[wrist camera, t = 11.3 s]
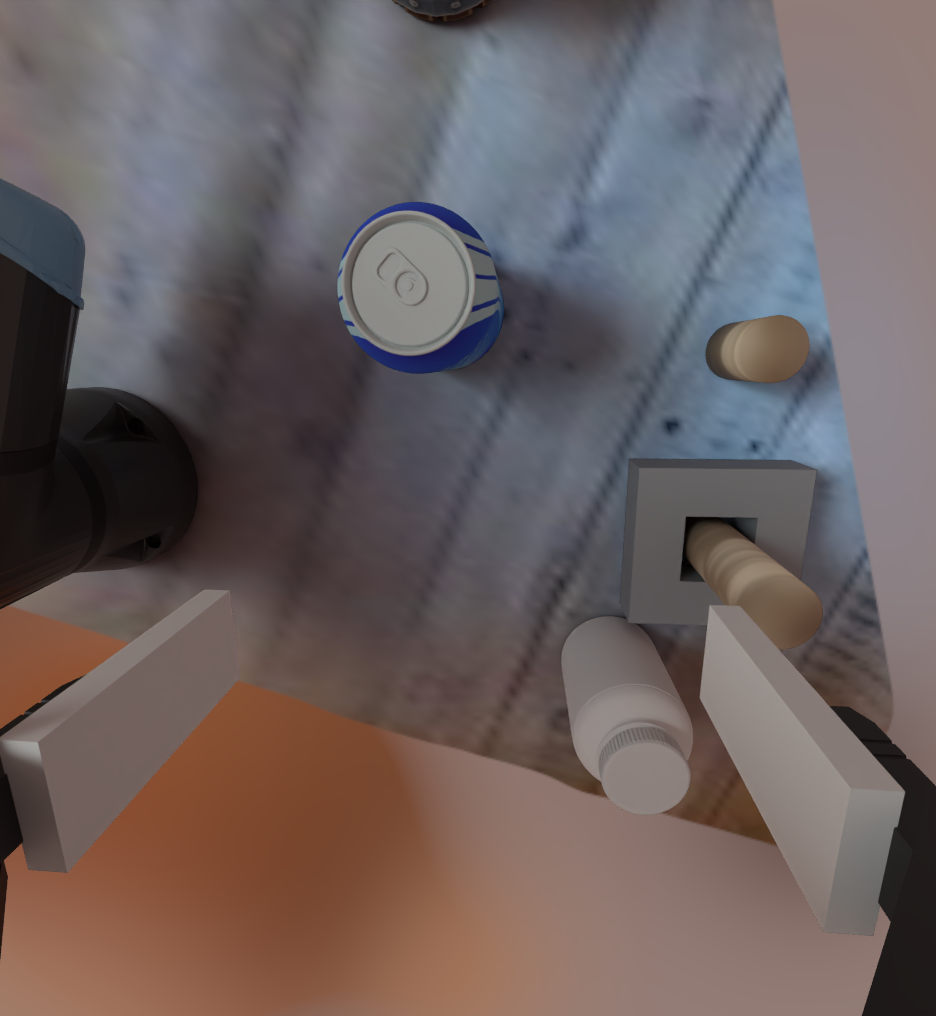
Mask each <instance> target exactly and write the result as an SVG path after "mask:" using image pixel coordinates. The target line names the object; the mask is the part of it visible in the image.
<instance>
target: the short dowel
mask: <svg viewBox="0 0 936 1016" xmlns="http://www.w3.org/2000/svg"><path fill="white" fill-rule="evenodd" d="M808 352H809V338H808V334H807V332H806V330H805V328H804V327H803V326H802V324H800V323H799V322H798V321H797V320H795V319H793V318H791V317H788V316H782V315H777V316H770V317H764V318H759V319H753V320H747V321H741V322H736V323H730V324H727V325H725V326H723V327H721V328H719V329H718V330H717V331H716V332H715V333H714V334H713V335H712V336H711V338H710V339H709V341H708V344H707V347H706V354H705V356H706V362H707V364H708V366H709V368H710V370H711V371H712V372H713V373H714V374H716V375H717V376H719V377H721V378H724V379H732V380H742V381H753V382H764V383H776V382H781V381H784V380H786V379H788V378H790V377H791V376H793V375H794V374H795V373H797V372H798V371H799V369H800V368H801V367H802V366H803V364H804V363H805V361H806V358H807V356H808Z"/></svg>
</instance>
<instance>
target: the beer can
mask: <svg viewBox="0 0 936 1016" xmlns="http://www.w3.org/2000/svg"><path fill="white" fill-rule="evenodd" d="M337 288H338V300H339V306H340V310H341V313H342V317H343V319H344V322H345V324H346V326H347V328H348V330H349V332H350V334H351V335H352V337H353V338H354V340H355V341H356V342H357V344H358V345H359V346H360V347H361V348H362V349H363V350H364V351H365V352H366V353H367V354H368V355H369V356H370V357H372V358H373V359H375V360H376V361H378V362H379V363H381V364H383V365H385V366H387V367H389V368H392V369H394V370H397V371H401V372H406V373H416V374H422V373H432V372H439V371H446V370H454V369H459V368H463V367H466V366H468V365H470V364H472V363H474V362H476V361H477V360H479V359H480V358H481V357H483V356H484V355H485V354H486V353H487V352H488V351H489V349H490V348H491V347H492V345H493V344H494V343H495V341H496V339H497V337H498V335H499V332H500V330H501V327H502V322H503V316H504V302H503V296H502V292H501V288H500V285H499V281H498V278H497V274H496V271H495V267H494V264H493V261H492V258H491V255H490V253H489V251H488V248H487V246H486V245H485V243H484V241H483V240H482V238H481V237H480V235H479V234H478V233H477V232H476V230H475V229H474V228H473V227H472V226H471V225H470V224H469V223H468V222H467V221H466V220H464V219H463V218H462V217H460V216H459V215H457V214H456V213H454V212H452V211H451V210H448V209H446V208H444V207H441V206H438V205H435V204H430V203H424V202H408V203H401V204H397V205H394V206H391V207H388V208H386V209H384V210H382V211H380V212H378V213H376V214H375V215H373V216H372V217H371V218H369V219H368V220H367V221H366V222H365V223H364V224H363V225H361V227H360V228H359V229H358V230H357V231H356V232H355V234H354V235H353V237H352V238H351V240H350V242H349V243H348V245H347V247H346V249H345V251H344V254H343V257H342V260H341V263H340V267H339V273H338V284H337Z"/></svg>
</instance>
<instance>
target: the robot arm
mask: <svg viewBox="0 0 936 1016" xmlns="http://www.w3.org/2000/svg"><path fill="white" fill-rule="evenodd" d="M84 259H85V242H84V239H83V236H82V233H81V232H80V230H79V228H78V226H77V225H76V224H75V223H74V221H73V220H72V219H71V218H70V217H69V216H68V215H67V214H66V213H64V212H63V211H62V210H60V209H59V208H57V207H55V206H54V205H52V204H50V203H48V202H46V201H44V200H42V199H40V198H39V197H37V196H35V195H33V194H31V193H29V192H27V191H25V190H23V189H21V188H19V187H17V186H15V185H13V184H11V183H9V182H6V181H4V180H2V179H0V609H2V608H4V607H6V606H8V605H10V604H12V603H14V602H16V601H18V600H20V599H22V598H24V597H26V596H28V595H30V594H32V593H34V592H36V591H38V590H40V589H42V588H44V587H46V586H48V585H50V584H52V583H54V582H56V581H58V580H60V579H62V578H63V577H66V576H68V575H70V574H72V573H79V572H92V571H105V570H118V569H125V568H129V567H133V566H136V565H139V564H142V563H144V562H147V561H149V560H150V559H152V558H154V557H156V556H158V555H160V554H162V553H163V552H165V551H167V550H168V549H170V548H171V547H172V546H173V545H174V544H176V543H177V542H178V541H179V539H180V538H181V537H182V536H183V534H184V533H185V532H186V530H187V528H188V526H189V524H190V522H191V520H192V517H193V514H194V511H195V507H196V500H197V480H196V473H195V469H194V465H193V462H192V459H191V456H190V453H189V451H188V449H187V447H186V445H185V443H184V441H183V439H182V438H181V436H180V435H179V433H178V432H177V430H176V429H175V428H174V427H173V425H172V424H171V423H170V422H169V421H168V420H167V419H166V418H165V417H164V416H163V415H162V414H161V413H160V412H159V411H158V410H156V409H155V408H154V407H153V406H151V405H150V404H148V403H147V402H145V401H143V400H142V399H140V398H138V397H136V396H134V395H131V394H129V393H126V392H123V391H120V390H116V389H111V388H104V387H90V388H75V389H67V383H68V377H69V371H70V365H71V359H72V353H73V347H74V341H75V335H76V329H77V323H78V317H79V312H80V310H83V309H84V301H83V299H82V298H81V288H82V279H83V269H84ZM66 389H67V390H66ZM239 678H240V671H239V663H238V654H237V646H236V638H235V629H234V621H233V613H232V604H231V596H230V590H203V591H201V592H200V593H199V594H197V595H196V596H194V597H193V598H192V599H190V600H189V601H188V602H186V603H185V604H183V605H182V606H181V607H179V608H178V609H176V610H175V611H174V612H172V613H171V614H170V615H168V616H167V617H165V618H164V619H163V620H161V621H160V622H158V623H157V624H156V625H154V626H153V627H152V628H150V629H149V630H147V631H146V632H145V633H143V634H142V635H141V636H139V637H138V638H136V639H135V640H134V641H132V642H131V643H129V644H128V645H127V646H125V647H124V648H123V649H121V650H120V651H119V652H117V653H116V654H114V655H113V656H112V657H110V658H109V659H107V660H106V661H105V662H103V663H102V664H100V665H99V666H98V667H96V668H95V669H94V670H92V671H91V672H89V673H88V674H86V675H84V676H82V677H80V678H77V679H75V680H73V681H71V682H69V683H67V684H64V685H62V686H61V687H59V688H58V689H56V690H55V691H53V692H52V693H51V694H49V695H48V696H46V697H45V698H44V699H42V700H41V703H37V704H35V705H34V706H32V707H31V708H29V709H28V710H27V711H25V714H24V715H20V716H18V717H17V718H16V719H14V720H13V721H11V722H10V723H8V724H7V725H5V726H4V727H3V728H1V729H0V956H1V946H2V935H3V924H4V913H5V902H6V890H7V880H8V876H7V872H6V868H5V864H4V859H6V858H7V856H9V855H10V854H11V853H12V852H13V851H14V850H15V849H16V848H17V847H18V846H19V845H20V844H21V843H22V846H23V850H24V854H25V858H26V862H27V866H28V870H38V871H51V872H64V873H68V872H69V870H70V869H71V868H72V867H73V866H74V865H75V864H76V862H77V861H78V860H79V859H80V858H81V857H82V856H83V855H84V853H85V852H86V851H87V850H88V849H89V848H90V847H91V846H92V844H93V843H94V842H95V841H96V840H97V839H98V838H99V836H100V835H101V834H102V833H103V832H104V831H105V830H106V829H107V827H108V826H109V825H110V824H111V823H112V822H113V820H115V818H116V817H117V816H118V815H119V814H120V812H122V811H123V809H124V808H125V807H126V806H127V805H128V804H129V803H130V801H131V800H132V799H133V798H134V797H135V796H136V795H137V793H138V792H139V791H140V790H141V789H142V788H143V787H144V786H145V784H146V783H147V782H148V781H149V780H150V779H151V778H152V776H153V775H154V774H155V773H156V772H157V771H158V770H159V768H160V767H161V766H162V765H163V764H164V763H165V762H166V761H167V760H168V758H169V757H170V756H171V755H172V754H173V753H174V752H175V750H176V749H177V748H178V747H179V746H180V745H181V744H182V743H183V742H184V740H185V739H186V738H187V737H188V736H189V735H190V734H191V733H192V731H193V730H194V729H195V728H196V727H197V726H198V724H200V722H201V721H202V720H203V719H204V718H205V717H206V716H207V714H208V713H209V712H210V711H211V710H212V709H213V708H214V707H215V705H216V704H217V703H218V702H219V701H220V699H222V698H223V696H224V695H225V694H226V693H227V692H228V691H229V689H230V688H231V687H232V686H233V685H234V683H236V682H237V681H238V679H239ZM700 700H701V702H702V704H703V705H704V707H705V709H706V711H707V713H708V715H709V717H710V719H711V721H712V722H713V724H714V726H715V728H716V730H717V732H718V734H719V736H720V738H721V740H722V741H723V743H724V745H725V747H726V749H727V751H728V753H729V755H730V757H731V758H732V760H733V762H734V764H735V766H736V768H737V770H738V772H739V774H740V775H741V777H742V779H743V781H744V783H745V785H746V787H747V789H748V791H749V793H750V794H751V796H752V798H753V800H754V802H755V804H756V806H757V808H758V810H759V811H760V813H761V815H762V817H763V819H764V821H765V823H766V825H767V827H768V829H769V830H770V832H771V834H772V836H773V838H774V840H775V842H776V844H777V846H778V847H779V849H780V851H781V853H782V855H783V856H784V859H785V861H786V863H787V864H788V866H789V868H790V870H791V872H792V874H793V876H794V878H795V880H796V882H797V883H798V885H799V887H800V889H801V891H802V893H803V895H804V897H805V899H806V900H807V902H808V904H809V906H810V908H811V910H812V912H813V914H814V915H815V917H816V919H817V921H818V923H819V925H820V927H821V929H822V931H823V932H828V933H841V934H853V935H866V936H873V935H874V931H875V926H876V921H877V917H878V912H879V908H880V906H881V908H882V909H883V911H884V912H885V913H886V915H887V916H888V918H889V920H890V921H891V923H890V927H889V930H888V933H887V936H886V939H885V943H884V946H883V949H882V953H881V956H880V959H879V962H878V965H877V969H876V972H875V975H874V978H873V982H872V985H871V988H870V991H869V995H868V998H867V1001H866V1004H865V1007H864V1011H863V1014H862V1016H936V786H935V785H934V784H933V783H932V782H931V781H930V780H929V779H928V778H927V777H926V775H924V773H923V772H922V771H921V770H920V769H919V768H918V767H917V766H916V765H915V764H914V763H913V762H912V761H911V760H909V759H906V755H905V754H904V753H903V752H902V751H901V750H900V749H899V748H898V747H897V746H896V745H895V744H892V742H891V740H890V739H889V738H888V736H887V735H886V734H885V733H884V732H883V731H882V730H881V729H880V728H879V727H878V726H877V725H876V724H875V723H874V722H872V721H871V720H869V719H867V718H866V717H864V716H862V715H861V714H859V713H858V712H856V711H854V710H853V709H851V708H850V707H840V706H829V705H828V704H827V703H826V702H825V701H824V700H823V699H822V698H821V696H820V695H819V694H818V693H817V692H816V691H815V690H814V689H813V687H812V686H811V685H810V684H809V683H808V682H807V681H806V680H805V679H804V677H803V676H802V675H801V674H800V673H799V672H798V671H797V670H796V668H795V667H794V666H793V665H792V664H791V663H790V662H789V661H788V659H787V658H786V657H785V656H784V655H783V654H782V653H781V652H780V650H779V649H778V648H777V647H776V646H775V645H774V644H773V643H772V641H771V640H770V639H769V638H768V637H767V636H766V635H765V634H764V632H763V631H762V630H761V629H760V628H759V627H758V626H757V625H756V623H755V622H754V621H753V620H752V619H751V618H750V617H749V616H748V614H747V613H746V612H745V611H744V610H743V609H742V608H741V607H740V606H725V605H710V606H709V615H708V625H707V634H706V643H705V652H704V662H703V671H702V680H701V689H700Z"/></svg>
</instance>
